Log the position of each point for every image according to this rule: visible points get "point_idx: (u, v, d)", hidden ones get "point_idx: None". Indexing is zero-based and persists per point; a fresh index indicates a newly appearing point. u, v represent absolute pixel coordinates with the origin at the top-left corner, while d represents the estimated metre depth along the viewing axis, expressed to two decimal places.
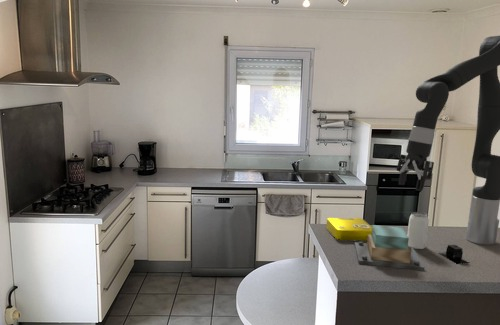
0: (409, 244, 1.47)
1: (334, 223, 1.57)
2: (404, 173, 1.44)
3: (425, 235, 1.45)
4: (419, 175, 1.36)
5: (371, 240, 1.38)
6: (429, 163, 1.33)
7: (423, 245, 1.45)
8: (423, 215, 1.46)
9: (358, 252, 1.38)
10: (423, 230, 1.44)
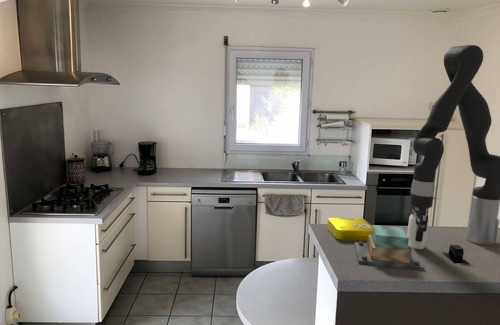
0: (409, 244, 1.47)
1: (335, 223, 1.58)
2: None
3: (425, 235, 1.45)
4: (417, 227, 1.44)
5: (371, 240, 1.38)
6: (422, 217, 1.40)
7: (423, 245, 1.45)
8: None
9: (358, 252, 1.38)
10: None
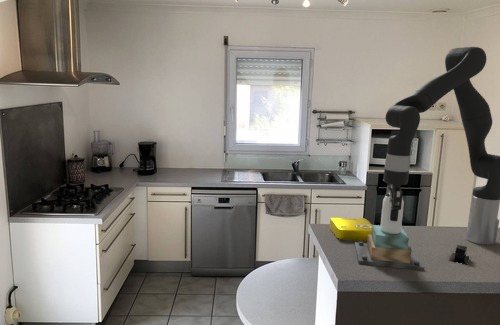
0: (383, 229, 1.34)
1: (337, 223, 1.58)
2: None
3: (400, 219, 1.33)
4: (391, 205, 1.30)
5: (371, 240, 1.38)
6: (396, 193, 1.27)
7: (398, 230, 1.33)
8: None
9: (358, 252, 1.38)
10: None
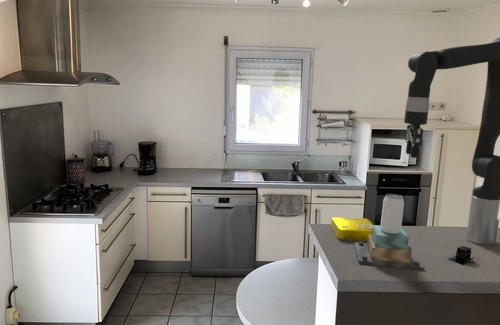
0: (383, 229, 1.34)
1: (338, 222, 1.58)
2: (410, 142, 1.51)
3: (400, 219, 1.33)
4: (412, 142, 1.43)
5: (371, 240, 1.38)
6: (417, 130, 1.40)
7: (398, 230, 1.33)
8: (398, 197, 1.34)
9: (358, 252, 1.38)
10: (397, 214, 1.32)
